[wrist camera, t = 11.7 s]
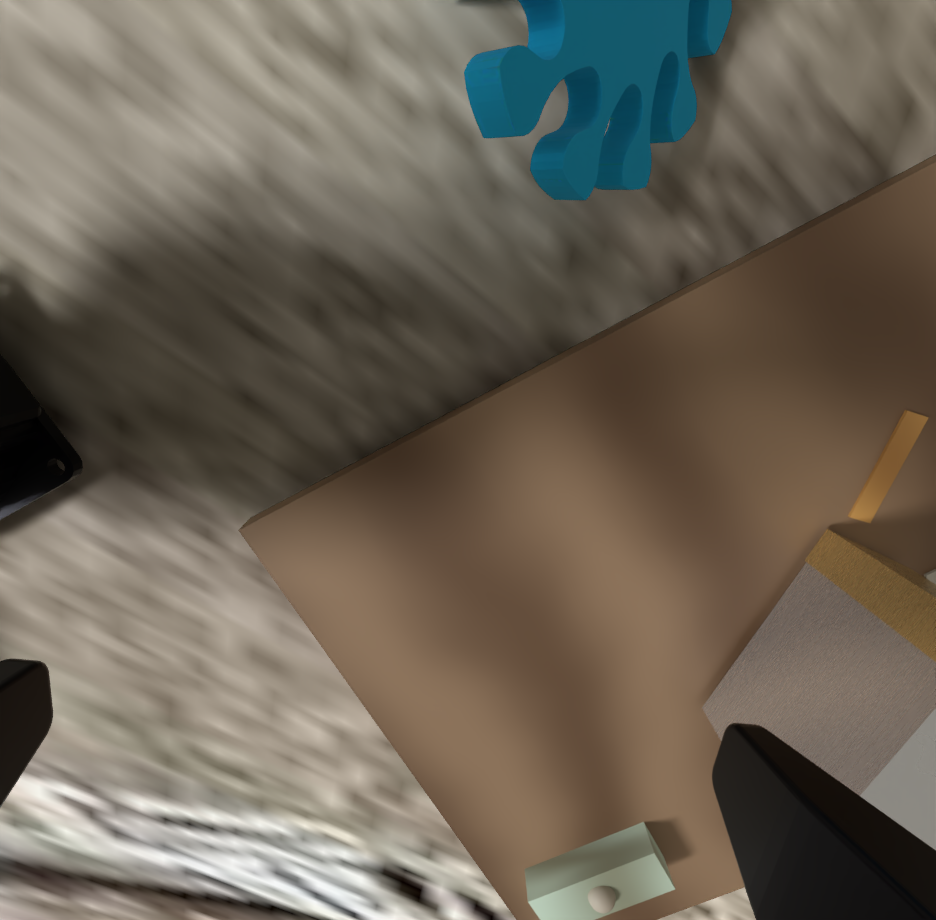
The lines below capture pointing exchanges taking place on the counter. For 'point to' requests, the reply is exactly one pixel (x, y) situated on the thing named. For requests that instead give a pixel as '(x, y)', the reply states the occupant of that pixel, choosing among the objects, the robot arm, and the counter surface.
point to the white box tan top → (848, 678)
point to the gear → (598, 86)
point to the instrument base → (626, 552)
